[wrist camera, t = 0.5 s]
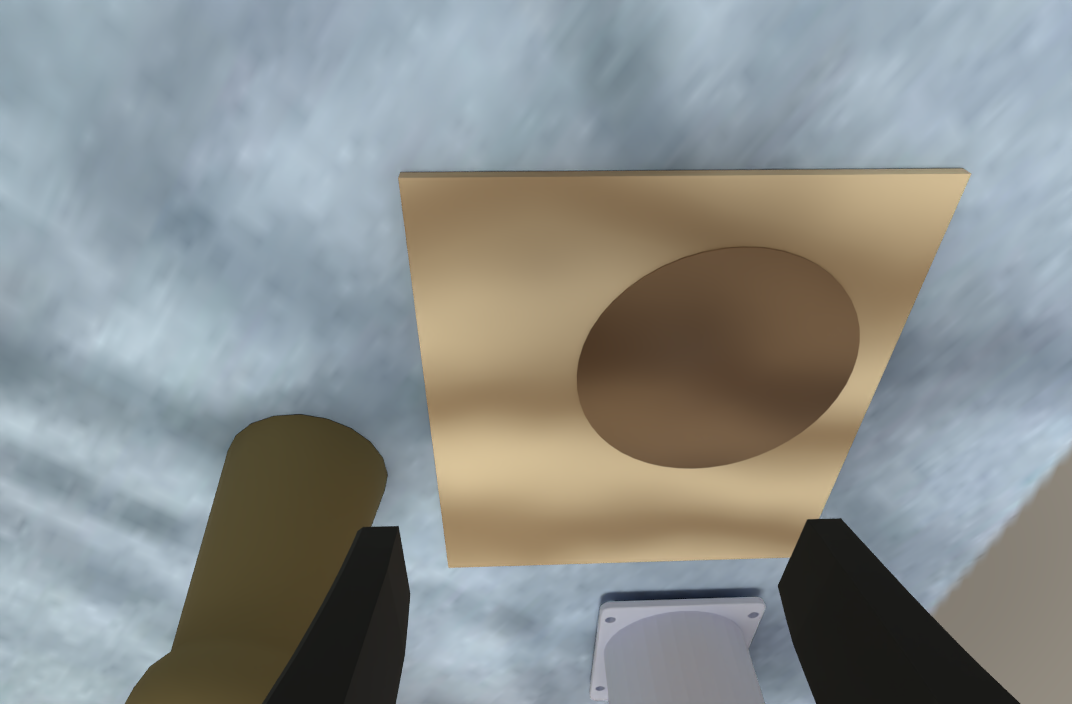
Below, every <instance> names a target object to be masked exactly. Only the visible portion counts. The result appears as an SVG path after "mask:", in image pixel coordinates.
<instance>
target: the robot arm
mask: <svg viewBox="0 0 1072 704" xmlns="http://www.w3.org/2000/svg"><path fill="white" fill-rule="evenodd" d="M778 588H779V592H780V596H781V600H782V604H783V608H784V612H785V616H786V620H787V624H788V627H789V631H790V634H791V638H792V641H793V645H794V647H795V650H796V653H797V655H798V658H799V661H800V663H801V666H802V668H803V671H804V673H805V676H806V679H807V681H808V684H809V686H810V689H811V691H812V694H813V697H814V699H815V702H816V704H1020V703H1019V702H1018V701H1017V700H1016V699H1015V698H1014V697H1013V696H1012V695H1011V694H1010V693H1008V692H1007V690H1005V689H1004V688H1003V687H1002V686H1001V685H1000V684H999V683H998V682H997V681H996V680H995V679H994V678H993V677H992V676H991V675H990V674H989V673H988V672H986V670H984V669H983V668H982V667H981V666H980V665H979V664H978V663H977V662H976V661H975V660H974V659H973V658H972V657H971V656H970V655H969V654H968V653H967V652H966V651H965V650H964V649H963V648H962V647H961V646H960V645H959V644H958V643H957V642H956V641H955V640H954V639H953V638H952V637H951V636H950V635H949V634H948V632H947V631H945V630H944V629H943V627H942V626H941V625H940V624H939V623H938V622H937V621H936V620H935V619H934V618H933V617H932V616H931V615H930V614H929V613H928V612H927V611H926V610H925V609H924V608H923V607H922V606H921V605H920V603H919V602H918V601H917V600H916V599H915V598H914V597H913V596H912V595H911V594H910V593H909V592H908V591H907V590H906V589H905V587H904V586H903V585H902V584H901V583H900V582H899V581H898V580H897V579H896V578H895V577H894V576H893V575H892V573H891V572H890V571H889V570H888V569H887V568H886V567H885V566H884V565H883V564H882V563H881V562H880V560H879V559H878V558H877V557H876V556H875V555H874V554H873V553H872V552H871V551H870V550H869V548H868V547H867V546H866V545H865V544H864V543H863V542H862V541H861V540H860V539H859V538H858V537H857V535H856V534H855V533H854V532H853V531H852V530H851V529H850V528H849V527H848V526H847V525H846V524H845V522H844V521H843V520H842V519H807V521H806V523H805V525H804V528H803V530H802V532H801V534H800V537H799V539H798V541H797V544H796V546H795V548H794V550H793V553H792V555H791V557H790V559H789V562H788V564H787V566H786V568H785V571H784V573H783V575H782V578H781V580H780V582H779V584H778ZM409 603H410V590H409V584H408V578H407V572H406V566H405V561H404V555H403V549H402V543H401V537H400V532H399V526H388V527H362V528H361V529H360V530H358V531H357V533H356V536H355V538H354V540H353V543H352V545H351V547H350V549H349V551H348V553H347V556H346V558H345V560H344V562H343V564H342V566H341V568H340V570H339V572H338V574H337V576H336V578H335V580H334V582H333V584H332V586H331V588H330V590H329V591H328V593H327V595H326V597H325V599H324V601H323V603H322V605H321V606H320V608H319V610H318V612H317V614H316V615H315V617H314V619H313V621H312V622H311V624H310V626H309V628H308V629H307V631H306V633H305V634H304V636H303V638H302V640H301V641H300V643H299V645H298V647H297V648H296V650H295V652H294V654H293V655H292V657H291V659H290V660H289V662H288V663H287V665H286V667H285V668H284V670H283V671H282V673H281V674H280V676H279V678H278V679H277V681H276V682H275V684H274V685H273V687H272V689H271V690H270V692H269V693H268V695H267V696H266V698H265V700H264V701H263V703H262V704H396V699H397V694H398V689H399V683H400V678H401V673H402V667H403V662H404V656H405V648H406V637H407V627H408V615H409ZM765 608H766V606H765V603H764V600H763V599H762V598H759V597H733V598H702V599H671V600H641V601H611V602H606V603H604V604H602V605H601V607H600V611H599V619H598V626H597V634H596V642H595V650H594V658H593V666H592V674H591V682H590V689H589V693H590V698H591V699H592V700H595V701H603V700H608V702H609V704H765V702H764V698H763V695H762V692H761V689H760V686H759V683H758V679H757V676H756V673H755V670H754V667H753V663H752V660H751V657H750V654H749V651H748V649H749V647H750V644H751V642H752V640H753V637H754V635H755V632H756V630H757V628H758V625H759V623H760V620H761V618H762V616H763V613H764V611H765Z"/></svg>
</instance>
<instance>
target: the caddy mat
mask: <svg viewBox="0 0 1072 704" xmlns="http://www.w3.org/2000/svg"><path fill="white" fill-rule="evenodd" d="M970 176H971V173H969V172H968V171H966V170H965V169H963V168H959V169H816V170H672V171H528V172H400V175H399V177H398V179H399V187H400V195H401V203H402V210H403V218H404V226H405V234H406V241H407V249H408V257H409V265H410V272H411V280H412V288H413V296H414V303H415V311H416V319H417V327H418V334H419V342H420V350H421V358H422V365H423V373H424V381H425V389H426V397H427V404H428V412H429V420H430V428H431V435H432V443H433V451H434V459H435V466H436V474H437V482H438V490H439V497H440V505H441V513H442V521H443V528H444V536H445V544H446V552H447V559H448V567H449V568H455V567H488V566H522V565H555V564H588V563H621V562H654V561H688V560H721V559H754V558H787V557H791V555H792V553H793V550H794V548H795V546H796V544H797V541H798V539H799V537H800V534H801V532H802V530H803V528H804V525H805V523H806V521H807V519H819V517H820V515H821V513H822V511H823V508H824V506H825V504H826V501H827V499H828V497H829V495H830V492H831V490H832V488H833V486H834V483H835V481H836V479H837V477H838V474H839V472H840V470H841V468H842V465H843V463H844V461H845V458H846V456H847V454H848V452H849V449H850V447H851V445H852V443H853V440H854V438H855V436H856V434H857V431H858V429H859V427H860V425H861V422H862V420H863V418H864V415H865V413H866V411H867V409H868V406H869V404H870V402H871V400H872V397H873V395H874V393H875V391H876V388H877V386H878V384H879V382H880V379H881V377H882V375H883V372H884V370H885V368H886V366H887V363H888V361H889V359H890V357H891V354H892V352H893V350H894V348H895V345H896V343H897V341H898V339H899V336H900V334H901V332H902V329H903V327H904V325H905V323H906V320H907V318H908V316H909V314H910V311H911V309H912V307H913V305H914V302H915V300H916V298H917V295H918V293H919V291H920V289H921V286H922V284H923V282H924V280H925V277H926V275H927V273H928V271H929V268H930V266H931V264H932V262H933V259H934V257H935V255H936V252H937V250H938V248H939V246H940V243H941V241H942V239H943V237H944V234H945V232H946V230H947V228H948V225H949V223H950V221H951V219H952V216H953V214H954V212H955V209H956V207H957V205H958V203H959V200H960V198H961V196H962V194H963V191H964V189H965V187H966V185H967V182H968V180H969V178H970Z"/></svg>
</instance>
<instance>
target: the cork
mask: <svg viewBox="0 0 1072 704" xmlns="http://www.w3.org/2000/svg"><path fill="white" fill-rule="evenodd" d="M387 476H388V474H387V471H386V467H385V464H384V460H383V458H382V456H381V455H380V454H379V453H378V451H377V450H376V449H375V447H374V446H373V445H372V443H371V442H369V441H368V440H367V439H365V438H364V437H362V436H361V435H360V434H358V433H357V432H355V431H354V430H353V429H351V428H349V427H346V426H344V425H341V424H339V423H336V422H333V421H331V420H328V419H325V418H318V417H312V416H306V415H284V416H273V417H270V418H267V419H264V420H261V421H258V422H255V423H252V424H250V425H249V426H248V427H246V428H245V429H244V430H242V431H241V432H240V433H239V434H237V435H236V436H235V438H234V440H233V442H232V444H231V446H230V448H229V450H228V452H227V456H226V459H225V463H224V466H223V470H222V473H221V477H220V480H219V484H218V487H217V491H216V494H215V498H214V501H213V505H212V508H211V512H210V515H209V519H208V522H207V526H206V530H205V533H204V537H203V540H202V544H201V547H200V551H199V554H198V558H197V561H196V565H195V568H194V572H193V575H192V579H191V582H190V586H189V589H188V593H187V597H186V600H185V604H184V607H183V611H182V614H181V618H180V621H179V625H178V628H177V632H176V635H175V639H174V642H173V646H172V649H171V652H170V653H168V654H167V655H165V656H164V657H163V658H161V659H160V660H158V661H157V662H156V663H154V664H153V665H151V666H150V667H149V668H148V670H147V671H146V672H145V674H144V675H143V676H142V678H141V679H140V680H139V682H138V683H137V684H136V686H135V687H134V688H133V690H132V692H131V694H130V695H129V697H128V699H127V701H126V703H125V704H262V703H263V701H264V700H265V698H266V696H267V695H268V693H269V692H270V690H271V689H272V687H273V685H274V684H275V682H276V681H277V679H278V678H279V676H280V674H281V673H282V671H283V670H284V668H285V667H286V665H287V663H288V662H289V660H290V659H291V657H292V655H293V654H294V652H295V650H296V648H297V647H298V645H299V643H300V641H301V640H302V638H303V636H304V634H305V633H306V631H307V629H308V628H309V626H310V624H311V622H312V621H313V619H314V617H315V615H316V614H317V612H318V610H319V608H320V606H321V605H322V603H323V601H324V599H325V597H326V595H327V593H328V591H329V590H330V588H331V586H332V584H333V582H334V580H335V578H336V576H337V574H338V572H339V570H340V568H341V566H342V564H343V562H344V560H345V558H346V556H347V553H348V551H349V549H350V547H351V545H352V543H353V540H354V538H355V536H356V533H357V531H358V530H360V529H361V528H362V527H371V526H372V523H373V520H374V518H375V515H376V512H377V510H378V507H379V504H380V502H381V499H382V496H383V494H384V491H385V486H386V481H387Z"/></svg>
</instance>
